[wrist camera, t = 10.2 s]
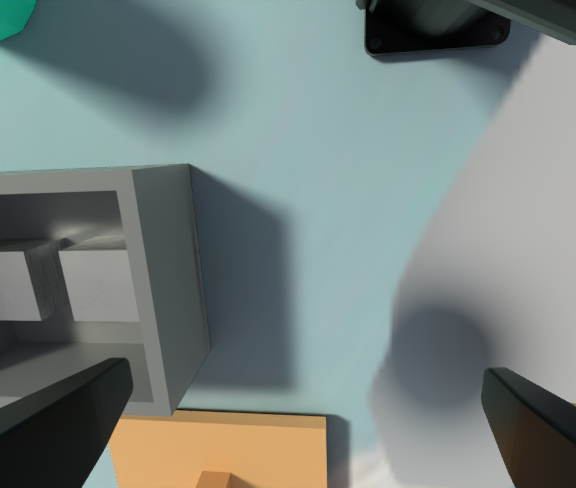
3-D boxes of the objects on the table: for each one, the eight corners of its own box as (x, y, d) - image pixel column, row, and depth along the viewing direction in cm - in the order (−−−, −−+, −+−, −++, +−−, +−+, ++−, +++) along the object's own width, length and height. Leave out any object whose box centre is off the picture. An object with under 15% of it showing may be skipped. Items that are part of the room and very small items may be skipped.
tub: (188, 163, 20) (131, 169, 14) (210, 349, 23) (171, 416, 17) (-29, 173, 21) (-161, 182, 15) (20, 345, 24) (-75, 405, 19)
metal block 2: (159, 235, 20) (131, 250, 17) (168, 298, 21) (143, 322, 18) (95, 236, 21) (58, 251, 18) (108, 298, 22) (74, 321, 19)
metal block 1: (65, 237, 21) (23, 251, 18) (78, 298, 22) (41, 320, 19) (6, 238, 21) (-45, 252, 18) (22, 298, 22) (-24, 320, 19)
